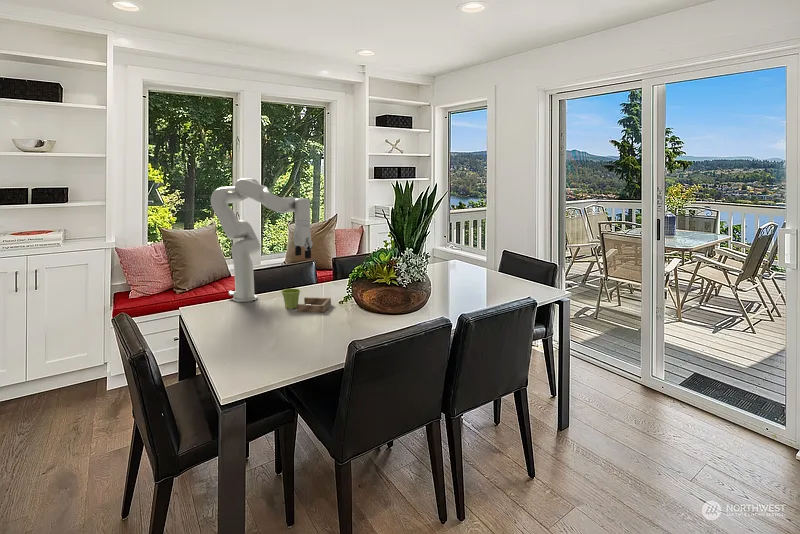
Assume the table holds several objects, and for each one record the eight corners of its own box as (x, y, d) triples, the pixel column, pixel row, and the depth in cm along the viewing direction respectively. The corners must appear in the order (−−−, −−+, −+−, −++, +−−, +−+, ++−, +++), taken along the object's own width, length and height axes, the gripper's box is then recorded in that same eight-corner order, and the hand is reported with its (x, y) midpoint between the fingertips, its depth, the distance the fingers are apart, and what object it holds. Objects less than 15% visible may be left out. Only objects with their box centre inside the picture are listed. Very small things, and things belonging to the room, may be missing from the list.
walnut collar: (296, 311, 236) (296, 304, 235) (305, 303, 250) (305, 297, 250) (323, 312, 235) (323, 306, 234) (330, 304, 249) (330, 298, 249)
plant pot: (282, 310, 238) (281, 293, 236) (281, 305, 247) (280, 288, 245) (301, 309, 240) (301, 292, 239) (300, 304, 249) (299, 288, 248)
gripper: (287, 221, 246) (288, 255, 249) (304, 225, 233) (305, 260, 236) (300, 221, 250) (301, 253, 254) (318, 224, 238) (318, 258, 241)
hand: (303, 256), depth 245 cm, fingers open, 9 cm apart
